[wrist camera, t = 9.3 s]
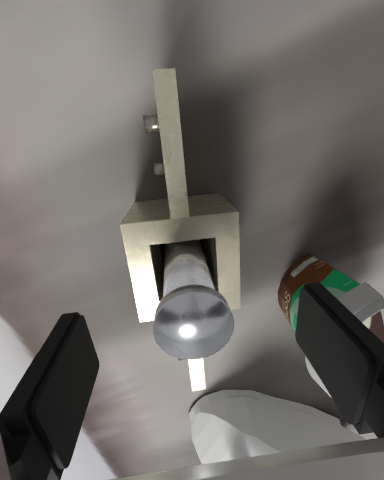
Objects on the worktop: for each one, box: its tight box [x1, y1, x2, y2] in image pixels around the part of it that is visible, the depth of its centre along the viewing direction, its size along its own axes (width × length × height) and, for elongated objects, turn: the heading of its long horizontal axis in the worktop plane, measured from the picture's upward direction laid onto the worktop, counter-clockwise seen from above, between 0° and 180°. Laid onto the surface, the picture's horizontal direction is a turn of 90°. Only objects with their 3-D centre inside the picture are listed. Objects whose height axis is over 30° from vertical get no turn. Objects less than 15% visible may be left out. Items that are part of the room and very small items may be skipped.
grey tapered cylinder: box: [153, 239, 234, 360], centre depth 17 cm, size 4×4×13 cm
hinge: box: [120, 68, 241, 391], centre depth 20 cm, size 24×8×7 cm, turn 5°
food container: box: [278, 254, 384, 398], centre depth 22 cm, size 12×6×10 cm, turn 26°
